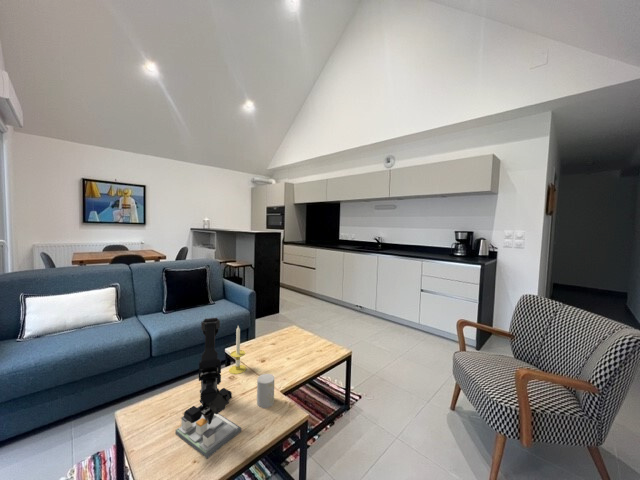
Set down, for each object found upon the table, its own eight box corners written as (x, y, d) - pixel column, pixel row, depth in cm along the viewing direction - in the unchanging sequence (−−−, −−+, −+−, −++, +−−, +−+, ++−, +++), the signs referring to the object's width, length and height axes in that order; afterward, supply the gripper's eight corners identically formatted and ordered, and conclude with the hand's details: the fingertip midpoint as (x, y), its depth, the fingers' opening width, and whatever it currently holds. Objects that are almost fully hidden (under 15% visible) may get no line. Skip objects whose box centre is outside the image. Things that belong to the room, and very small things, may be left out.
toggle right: (202, 443, 101) (202, 432, 101) (209, 438, 104) (209, 427, 104) (207, 446, 100) (207, 436, 100) (214, 441, 102) (214, 431, 102)
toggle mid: (195, 432, 107) (195, 422, 107) (202, 427, 109) (202, 417, 109) (200, 435, 105) (200, 425, 105) (207, 430, 108) (207, 420, 108)
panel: (175, 433, 109) (175, 428, 109) (209, 411, 123) (209, 406, 122) (207, 458, 98) (207, 452, 98) (241, 431, 111) (241, 425, 111)
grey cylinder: (270, 409, 125) (270, 384, 124) (254, 406, 127) (254, 382, 126) (276, 398, 133) (276, 375, 132) (261, 395, 135) (261, 372, 134)
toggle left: (181, 427, 109) (181, 417, 109) (188, 422, 112) (188, 413, 111) (185, 430, 108) (185, 420, 107) (192, 425, 110) (192, 416, 110)
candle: (239, 363, 165) (239, 320, 164) (250, 368, 159) (250, 324, 158) (225, 370, 157) (225, 325, 155) (236, 376, 151) (236, 329, 150)
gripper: (200, 407, 97) (200, 448, 98) (240, 382, 113) (240, 418, 114) (183, 396, 103) (183, 435, 104) (223, 374, 119) (223, 408, 120)
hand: (209, 423), depth 110 cm, fingers closed
